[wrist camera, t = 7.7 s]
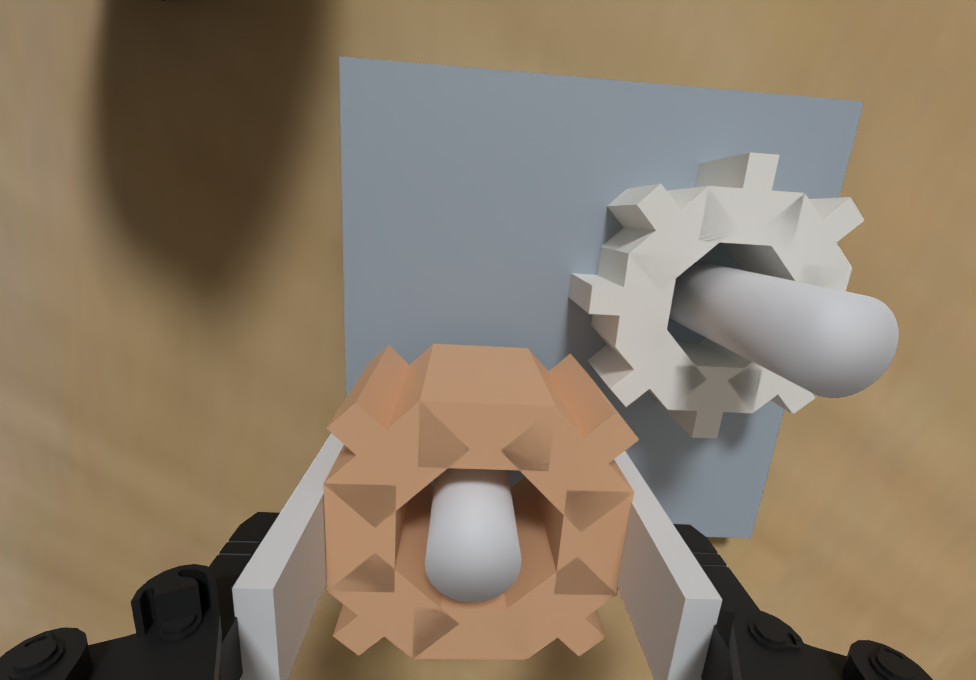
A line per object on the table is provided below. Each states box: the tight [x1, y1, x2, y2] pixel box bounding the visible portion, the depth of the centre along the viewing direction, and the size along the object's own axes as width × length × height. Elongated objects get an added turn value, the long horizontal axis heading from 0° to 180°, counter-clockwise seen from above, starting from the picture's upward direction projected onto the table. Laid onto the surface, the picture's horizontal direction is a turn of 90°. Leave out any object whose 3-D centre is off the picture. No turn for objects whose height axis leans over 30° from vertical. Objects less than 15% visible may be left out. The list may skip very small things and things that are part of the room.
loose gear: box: [323, 344, 639, 659], centre depth 14 cm, size 8×8×5 cm
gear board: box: [339, 56, 899, 602], centre depth 15 cm, size 18×18×9 cm
